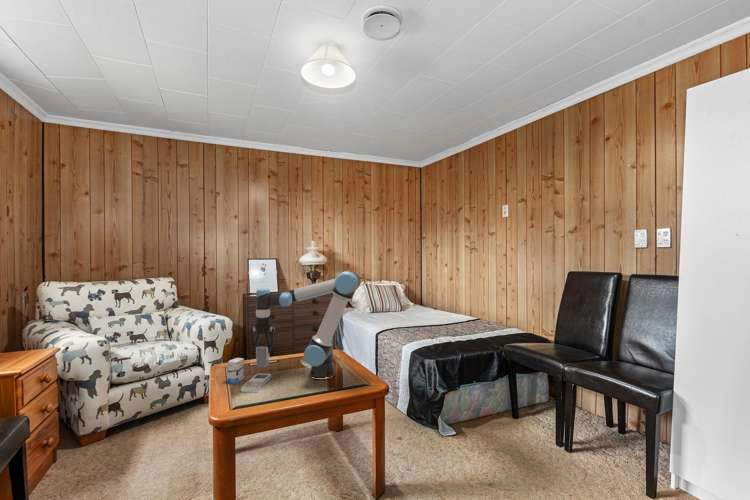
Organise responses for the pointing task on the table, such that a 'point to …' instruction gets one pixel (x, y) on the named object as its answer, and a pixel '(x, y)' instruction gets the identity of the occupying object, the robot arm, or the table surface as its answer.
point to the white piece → (256, 383)
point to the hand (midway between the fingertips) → (262, 358)
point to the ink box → (235, 370)
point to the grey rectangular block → (262, 357)
